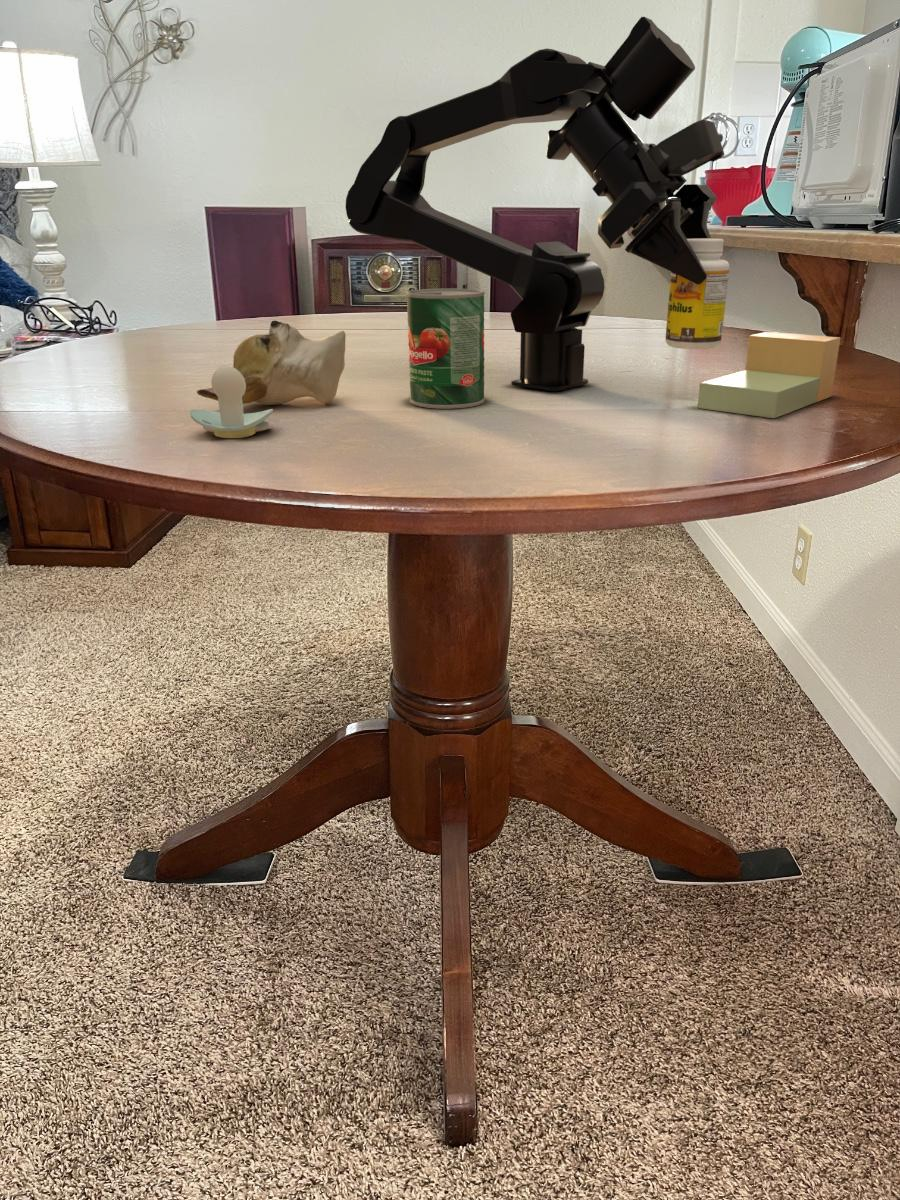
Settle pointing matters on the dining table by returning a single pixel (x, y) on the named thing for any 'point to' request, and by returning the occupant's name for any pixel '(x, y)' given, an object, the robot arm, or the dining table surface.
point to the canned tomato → (446, 347)
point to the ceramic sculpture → (288, 366)
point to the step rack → (776, 376)
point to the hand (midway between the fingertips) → (712, 279)
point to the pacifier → (230, 408)
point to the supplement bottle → (699, 300)
